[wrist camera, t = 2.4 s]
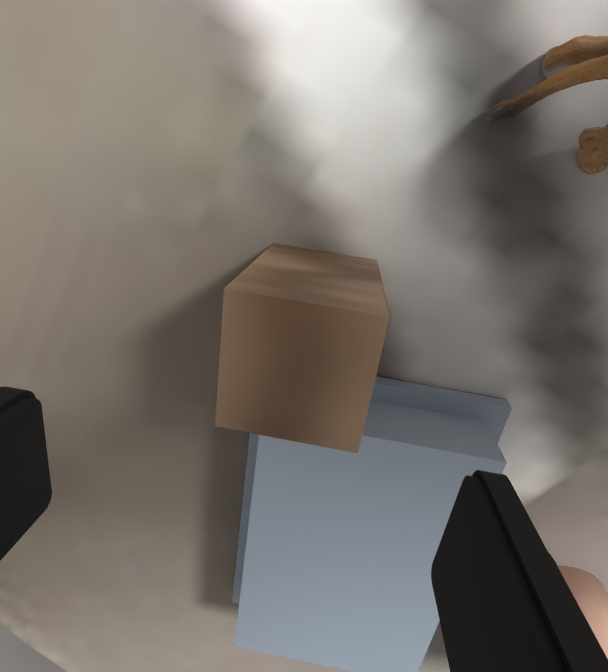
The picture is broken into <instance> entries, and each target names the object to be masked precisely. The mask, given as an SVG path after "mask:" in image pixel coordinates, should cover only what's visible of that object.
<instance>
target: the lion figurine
mask: <svg viewBox="0 0 608 672" xmlns="http://www.w3.org/2000/svg"><path fill="white" fill-rule="evenodd" d="M542 72H543V74H544V76H546V77H547V79H546V80H544V81H543V82H541V83H539V84H538V85H536V86H535V87H533V88H531V89H530V90H528V91H527V92H526V93H524V94H523V95H521V96H519V97H516V98H514V99H511V100H504V101H502V102H500V103H499V104H497V105H495V106H492V107H491V108H489V109H488V110H487V111H486V113H485V120H486V121H495V120H501V119H505V118H510V117H514V116H517V115H518V114H519V113H521V112H522V111H523V110H525V109H526V108H528V107H529V106H531V105H533V104H534V103H536V102H538V101H539V100H541V99H543V98H545V97H546V96H548V95H550V94H553V93H555V92H557V91H560V90H563V89H566V88H569V87H571V86H574V85H578V84H581V83H585V82H589V81H594V80H601V79H608V36H602V37H594V36H587V35H585V36H579V37H576V38H573V39H571V40H570V41H568V42H566V43H564V44H562V45H560V46H557V47H554V48H552V49H550V50H549V51H548V52H547V53H546V55H545V57H544V60H543V64H542ZM577 163H578V166H579V167H580V168H581V169H582V170H583V171H584V172H586V173H589V174H593V173H597V172H600V171H602V170H604V169H605V168H606V167H607V165H608V124H607V125H606V126H605V127H603V128H600V127H597V128H589V129H585V130H584V131H582V133H581V134H580V136H579V149H578V153H577Z"/></svg>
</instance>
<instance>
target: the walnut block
mask: <svg viewBox="0 0 608 672" xmlns="http://www.w3.org/2000/svg"><path fill="white" fill-rule="evenodd" d="M389 321H390V313H389V309H388V305H387V301H386V297H385V292H384V288H383V284H382V280H381V276H380V272H379V267H378V263H377V260H371V259H365V258H359V257H353V256H347V255H341V254H335V253H329V252H322V251H316V250H310V249H304V248H298V247H292V246H286V245H280V244H274V243H273V244H272V245H271V246H270V247H269V248H267V249H266V250H265V251H264V252H263V253H262V254H261V255H260V256H259V257H258V258H257V259H255V260H254V261H253V262H252V263H251V264H250V265H249V266H248V267H247V268H246V269H245V270H243V271H242V272H241V273H240V274H239V275H238V276H237V277H236V278H235V279H234V280H232V281H231V282H230V283H229V284H228V285H227V286H226V287H225V288H224V293H223V309H222V324H221V339H220V355H219V370H218V385H217V401H216V416H215V426H216V427H221V428H226V429H231V430H237V431H242V432H247V433H253V434H258V435H263V436H268V437H274V438H279V439H284V440H290V441H295V442H300V443H305V444H311V445H316V446H321V447H327V448H332V449H337V450H342V451H348V452H353V453H358V450H359V446H360V442H361V438H362V434H363V429H364V425H365V421H366V417H367V413H368V409H369V404H370V400H371V396H372V392H373V388H374V383H375V379H376V375H377V371H378V367H379V362H380V358H381V354H382V350H383V346H384V341H385V337H386V333H387V329H388V325H389Z"/></svg>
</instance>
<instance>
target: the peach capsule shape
mask: <svg viewBox="0 0 608 672" xmlns="http://www.w3.org/2000/svg"><path fill="white" fill-rule="evenodd" d="M558 568H559V570H560V572H561V573H562V575H563V577H564V579H565V581H566V583H567V585H568V586H569V588H570V590H571V592H572V594H573V596H574V598H575V599H576V601H577V603H578V605H579V607H580V609H581V610H582V612H583V614H584V616H585V618H586V620H587V622H588V623H589V625H590V627H591V629H592V631H593V633H594V635H595V636H596V638H597V640H598V642H599V644H600V646H601V647H602V649H603V651H604V653H605V655H606V657H607V659H608V593H607V592H606V590H605V588H604V587H603V585H602V584H601V582H600V581H599V580H598V579H597V578H596V577H594V576H593V575H591V574H590V573H588V572H586V571H583V570H580V569H577V568H573V567H566V566H558Z"/></svg>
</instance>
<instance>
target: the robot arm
mask: <svg viewBox="0 0 608 672" xmlns="http://www.w3.org/2000/svg"><path fill="white" fill-rule="evenodd" d="M51 496H52V490H51V482H50V473H49V465H48V457H47V448H46V440H45V432H44V423H43V415H42V407H41V403H40V401H39V400H38V399H36V397H35V395H34V394H33V392H31V391H28V390H22V389H16V388H11V387H0V560H1V559H2V558H3V557H4V556H5V555H6V554H7V552H8V551H9V550H10V549H11V548H12V547H13V546H14V545H15V543H16V542H17V541H18V540H19V539H20V538H21V537H22V536H23V535H24V533H25V532H26V531H27V530H28V529H29V528H30V527H31V526H32V524H33V523H34V522H35V521H36V520H37V519H38V518H39V517H40V515H41V514H42V513H43V512H44V511H45V510H46V508H47V507H48V505H49V503H50V500H51ZM431 581H432V586H433V591H434V596H435V601H436V605H437V610H438V615H439V620H440V624H441V629H442V634H443V639H444V643H445V648H446V653H447V657H448V662H449V667H450V672H608V659H607V657H606V655H605V653H604V651H603V649H602V647H601V646H600V644H599V642H598V640H597V638H596V636H595V635H594V633H593V631H592V629H591V627H590V625H589V623H588V622H587V620H586V618H585V616H584V614H583V612H582V610H581V609H580V607H579V605H578V603H577V601H576V599H575V598H574V596H573V594H572V592H571V590H570V588H569V586H568V585H567V583H566V581H565V579H564V577H563V575H562V573H561V572H560V570H559V568H558V566H557V564H556V562H555V561H554V559H553V558H552V556H551V555H550V554H549V553H548V551H547V549H546V548H545V546H544V544H543V542H542V540H541V538H540V536H539V534H538V533H537V531H536V529H535V527H534V525H533V523H532V521H531V520H530V518H529V516H528V514H527V512H526V510H525V508H524V506H523V505H522V503H521V501H520V499H519V497H518V495H517V493H516V492H515V490H514V488H513V486H512V484H511V482H510V480H509V479H508V477H507V476H505V475H503V474H498V473H492V472H486V471H481V470H476V471H475V472H474V473H473V475H472V476H469V475H467V476H465V477H464V479H463V481H462V484H461V487H460V489H459V492H458V495H457V498H456V500H455V503H454V506H453V508H452V511H451V514H450V517H449V519H448V522H447V525H446V527H445V530H444V533H443V536H442V538H441V541H440V544H439V547H438V549H437V552H436V555H435V557H434V560H433V563H432V568H431Z"/></svg>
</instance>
